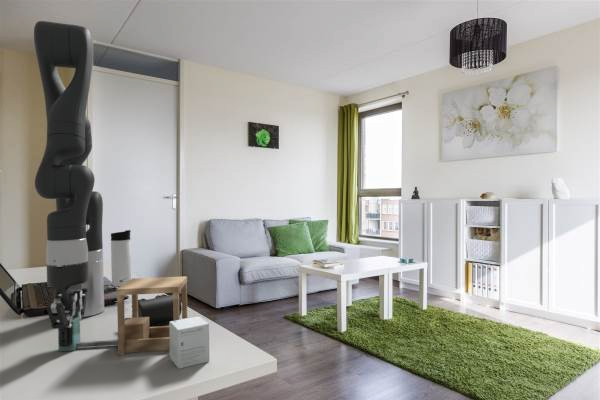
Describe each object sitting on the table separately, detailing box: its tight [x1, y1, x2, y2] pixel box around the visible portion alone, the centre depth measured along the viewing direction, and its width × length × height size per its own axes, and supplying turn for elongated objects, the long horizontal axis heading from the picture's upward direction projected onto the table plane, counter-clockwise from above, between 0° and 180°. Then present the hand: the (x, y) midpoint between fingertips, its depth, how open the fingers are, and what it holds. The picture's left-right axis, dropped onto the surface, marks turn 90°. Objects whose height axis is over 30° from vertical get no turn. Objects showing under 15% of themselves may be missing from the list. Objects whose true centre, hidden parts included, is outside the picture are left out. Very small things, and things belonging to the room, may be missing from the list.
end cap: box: [131, 293, 182, 327], centre depth 97 cm, size 10×7×7 cm
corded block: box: [57, 317, 150, 352], centre depth 83 cm, size 17×5×6 cm, turn 97°
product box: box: [168, 316, 210, 370], centre depth 76 cm, size 6×6×7 cm
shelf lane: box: [115, 275, 189, 356], centre depth 84 cm, size 12×10×13 cm
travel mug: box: [110, 229, 132, 288], centre depth 137 cm, size 6×7×20 cm
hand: (69, 342), depth 82 cm, fingers closed on corded block, 3 cm apart
